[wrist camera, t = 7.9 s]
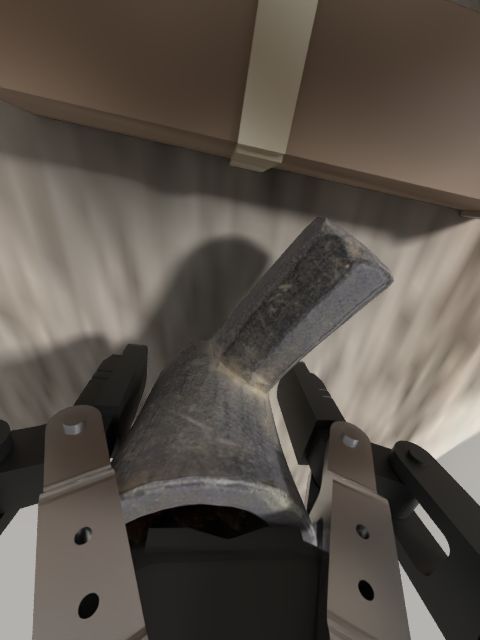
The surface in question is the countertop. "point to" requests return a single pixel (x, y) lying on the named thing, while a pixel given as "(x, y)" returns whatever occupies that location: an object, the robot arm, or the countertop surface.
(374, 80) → the banded brown beam
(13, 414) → the countertop surface
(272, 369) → the pipe
